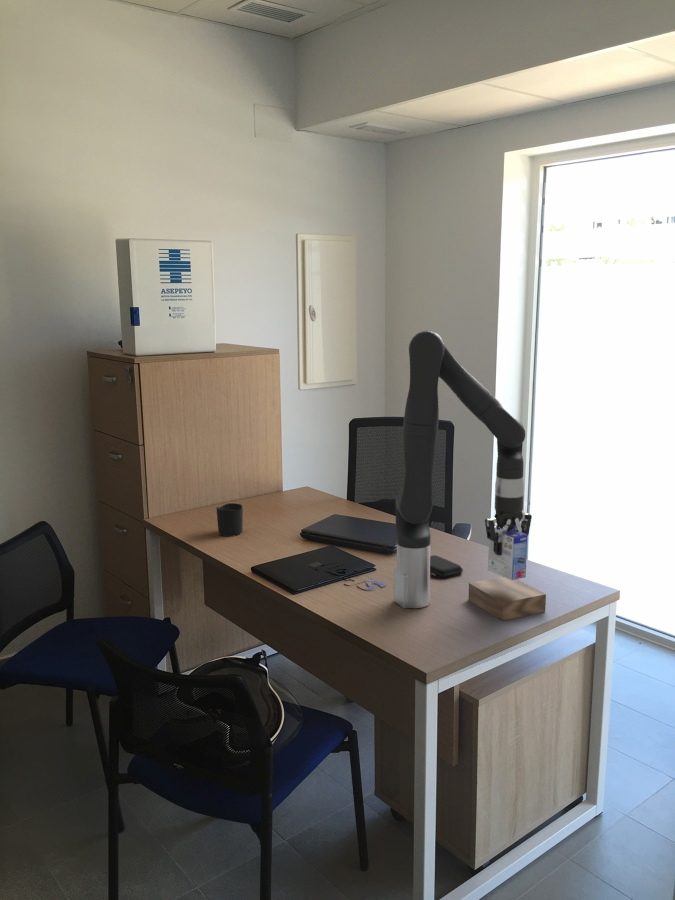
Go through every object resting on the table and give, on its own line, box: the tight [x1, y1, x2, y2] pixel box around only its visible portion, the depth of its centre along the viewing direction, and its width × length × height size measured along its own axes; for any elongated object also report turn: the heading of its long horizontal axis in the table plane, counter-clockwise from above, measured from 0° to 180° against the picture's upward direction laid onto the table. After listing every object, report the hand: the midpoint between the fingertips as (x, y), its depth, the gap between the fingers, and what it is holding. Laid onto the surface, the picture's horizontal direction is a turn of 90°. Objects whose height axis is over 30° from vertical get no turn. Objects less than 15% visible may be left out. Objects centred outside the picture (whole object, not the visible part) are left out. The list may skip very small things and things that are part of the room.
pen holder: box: [216, 502, 244, 537], centre depth 282 cm, size 9×9×10 cm
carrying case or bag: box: [430, 555, 464, 579], centre depth 241 cm, size 11×3×15 cm
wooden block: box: [468, 576, 547, 621], centre depth 213 cm, size 14×16×5 cm
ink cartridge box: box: [487, 525, 528, 580], centre depth 210 cm, size 10×6×14 cm, turn 32°
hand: (507, 552), depth 211 cm, fingers closed on ink cartridge box, 5 cm apart
